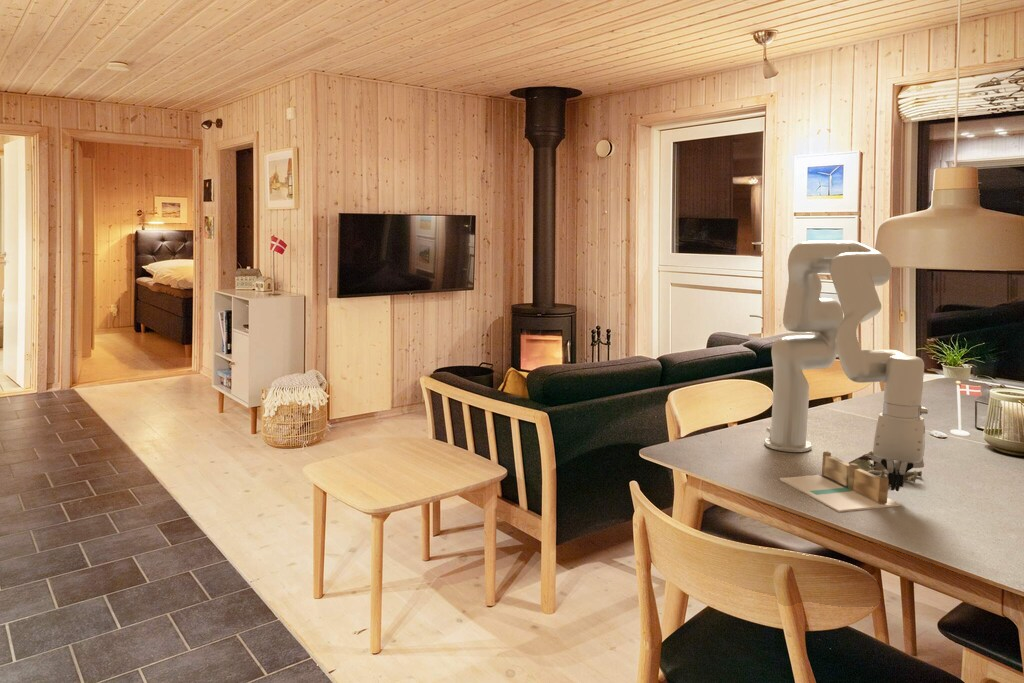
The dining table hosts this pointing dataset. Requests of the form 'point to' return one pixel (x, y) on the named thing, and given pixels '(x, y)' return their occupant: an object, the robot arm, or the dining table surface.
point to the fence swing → (871, 485)
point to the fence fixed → (838, 470)
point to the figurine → (882, 468)
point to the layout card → (834, 493)
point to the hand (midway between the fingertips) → (895, 488)
